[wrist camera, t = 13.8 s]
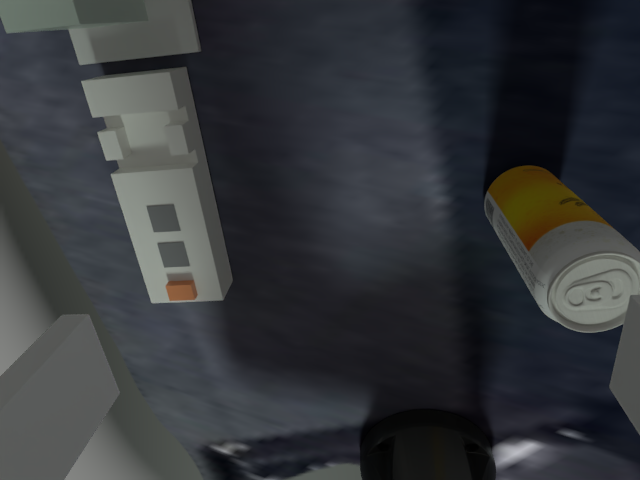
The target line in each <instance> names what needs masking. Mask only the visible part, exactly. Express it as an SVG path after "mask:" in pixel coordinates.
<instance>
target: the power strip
mask: <svg viewBox="0 0 640 480" xmlns="http://www.w3.org/2000/svg"><path fill="white" fill-rule="evenodd" d="M81 83H82V86H83V89H84V92H85V95H86V99H87V102H88V105H89V108H90V111H91V114H92V117H93V118H94V117H104V120H105V123H106V127H107V128H106V129H104V130H101V131H99V132H97V133H98V136H99V139H100V142H101V146H102V149H103V152H104V155H105V158H106V161H108V160H117V162H118V166H119V169H118V170H116V171H115V172H113V173H112V174H111V177H112V180H113V183H114V186H115V190H116V193H117V196H118V199H119V202H120V205H121V208H122V212H123V215H124V218H125V221H126V224H127V227H128V230H129V234H130V237H131V240H132V243H133V246H134V249H135V252H136V256H137V259H138V262H139V265H140V268H141V271H142V274H143V277H144V281H145V284H146V287H147V290H148V293H149V296H150V299H151V303H169V302H196V301H222V300H224V298H225V296H226V294H227V292H228V290H229V288H230V286H231V284H232V282H233V278H232V273H231V268H230V264H229V259H228V255H227V250H226V246H225V241H224V237H223V232H222V227H221V223H220V218H219V214H218V209H217V205H216V200H215V195H214V191H213V186H212V182H211V177H210V173H209V168H208V164H207V159H206V154H205V150H204V145H203V141H202V136H201V132H200V127H199V122H198V118H197V113H196V109H195V104H194V100H193V95H192V91H191V86H190V81H189V77H188V72H187V68H186V67H178V68H169V69H159V70H150V71H141V72H131V73H122V74H112V75H104V76H100V77H96V78H92V79H88V80H84V81H81Z"/></svg>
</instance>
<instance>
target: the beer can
mask: <svg viewBox="0 0 640 480" xmlns="http://www.w3.org/2000/svg"><path fill="white" fill-rule="evenodd" d="M484 208H485V213H486V216H487V218H488V219H489V221H490V223H491V225H492V226H493V228H494V230H495V231H496V233H497V235H498V237H499V238H500V240H501V242H502V244H503V245H504V247H505V249H506V250H507V252H508V254H509V256H510V257H511V259H512V261H513V262H514V264H515V266H516V268H517V269H518V271H519V273H520V274H521V276H522V278H523V280H524V281H525V283H526V285H527V286H528V288H529V290H530V292H531V293H532V295H533V297H534V299H535V300H536V302H537V304H538V305H539V307H540V309H541V310H542V311H543V312H544V313H545V314H546V315H547V316H548V317H550V318H551V319H553V320H555V321H557V322H559V323H560V324H562V325H563V326H565V327H567V328H569V329H572V330H575V331H579V332H600V331H605V330H609V329H612V328H615V327H617V326H619V325H622V324H623V323H624V321H625V316H626V312H627V308H628V303H629V299H630V295H640V252H639V251H638V250H637V249H636V248H635V247H634V246H633V245H632V244H631V243H630V242H628V241H627V240H626V239H625V238H624V237H623V236H622V235H621V234H619V233H618V232H617V231H616V230H615V229H614V228H613V227H612V226H610V225H609V224H608V223H607V222H606V221H605V220H604V219H602V218H601V217H600V216H599V215H598V214H597V213H596V212H595V211H593V210H592V209H591V208H590V207H589V206H588V205H587V204H586V203H584V202H583V201H582V200H581V199H580V198H579V197H578V196H576V195H575V194H574V193H573V192H572V191H571V190H570V189H569V188H567V187H566V186H565V185H564V184H563V183H562V182H561V181H560V180H558V179H557V178H556V177H555V176H554V175H553V174H552V173H550V172H549V171H547V170H546V169H544V168H541V167H538V166H531V165H526V166H519V167H515V168H512V169H510V170H508V171H506V172H504V173H503V174H501V175H500V176H499V177H497V178H496V179H495V180H494V182H493V183H492V184H491V185H490V187H489V189H488V191H487V193H486V196H485V201H484Z"/></svg>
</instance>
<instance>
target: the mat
mask: <svg viewBox="0 0 640 480" xmlns="http://www.w3.org/2000/svg"><path fill="white" fill-rule="evenodd" d="M144 3H145V7H146V11H147V15H148V20H149V21H144V22H135V23H127V24H119V25H110V26H102V27H94V28H81V29H68V30H69V33H70V36H71V39H72V42H73V46H74V49H75V52H76V55H77V58H78V61H79V65H84V64H93V63H102V62H112V61H121V60H130V59H139V58H148V57H157V56H166V55H175V54H184V53H193V52H200V51H201V46H200V41H199V36H198V31H197V26H196V22H195V17H194V12H193V7H192V2H191V0H144Z"/></svg>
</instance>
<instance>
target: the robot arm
mask: <svg viewBox="0 0 640 480" xmlns="http://www.w3.org/2000/svg"><path fill="white" fill-rule="evenodd" d="M609 388H610V389H611V391H612V392H613V394H614V396H615V397H616V399H617V400H618V402H619V403H620V405H621V407H622V408H623V410H624V411H625V413H626V414H627V416H628V417H629V419H630V421H631V422H632V424H633V425H634V427H635V428H636V430H637V431H638V433H639V435H640V295H630V299H629V303H628V308H627V312H626V316H625V321H624V325H623V330H622V334H621V338H620V343H619V347H618V351H617V356H616V360H615V364H614V369H613V373H612V378H611V382H610V386H609ZM119 394H120V392H119V389H118V387H117V384H116V382H115V379H114V376H113V374H112V371H111V369H110V366H109V364H108V361H107V359H106V357H105V354H104V351H103V349H102V346H101V344H100V341H99V339H98V336H97V334H96V331H95V329H94V326H93V323H92V321H91V318H90V316H89V314H75V315H61V317H59V318H58V319H57V320H56V321H55V322H54V323H53V324H52V325H51V326H50V327H49V328H48V329H47V330H46V331H45V332H44V333H43V334H42V335H41V336H40V337H39V338H38V339H37V340H36V341H35V342H34V343H33V344H32V345H31V346H30V347H29V348H28V349H27V350H26V351H25V353H23V354H22V355H21V356H20V357H19V358H18V359H17V360H16V361H15V362H14V363H13V364H12V365H11V366H10V367H9V369H7V370H6V371H5V372H4V373H3V374H2V375H1V376H0V480H64V479H65V477H66V476H67V474H68V473H69V471H70V470H71V468H72V467H73V465H74V463H75V462H76V460H77V459H78V457H79V456H80V454H81V453H82V451H83V450H84V448H85V446H86V445H87V443H88V442H89V440H90V439H91V437H92V436H93V434H94V432H95V431H96V429H97V428H98V426H99V425H100V423H101V421H102V420H103V419H104V417H105V415H106V414H107V412H108V411H109V409H110V407H111V406H112V404H113V403H114V401H115V400H116V398H117V397H118V395H119ZM360 471H361V477H362V480H495V478H496V466H495V460H494V457H493V453H492V450H491V446H490V443H489V441H488V439H487V437H486V436H485V434H484V433H483V432H482V431H481V430H480V429H479V428H478V427H477V426H476V425H474V424H473V423H472V422H470V421H468V420H466V419H464V418H462V417H460V416H458V415H455V414H452V413H448V412H443V411H437V410H413V411H407V412H403V413H399V414H396V415H393V416H390V417H388V418H386V419H384V420H382V421H381V422H379V423H378V424H377V425H375V426H374V427H373V428H372V429H371V430H370V431H369V432H368V433H367V435H366V436H365V438H364V440H363V442H362V445H361V450H360Z"/></svg>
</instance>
